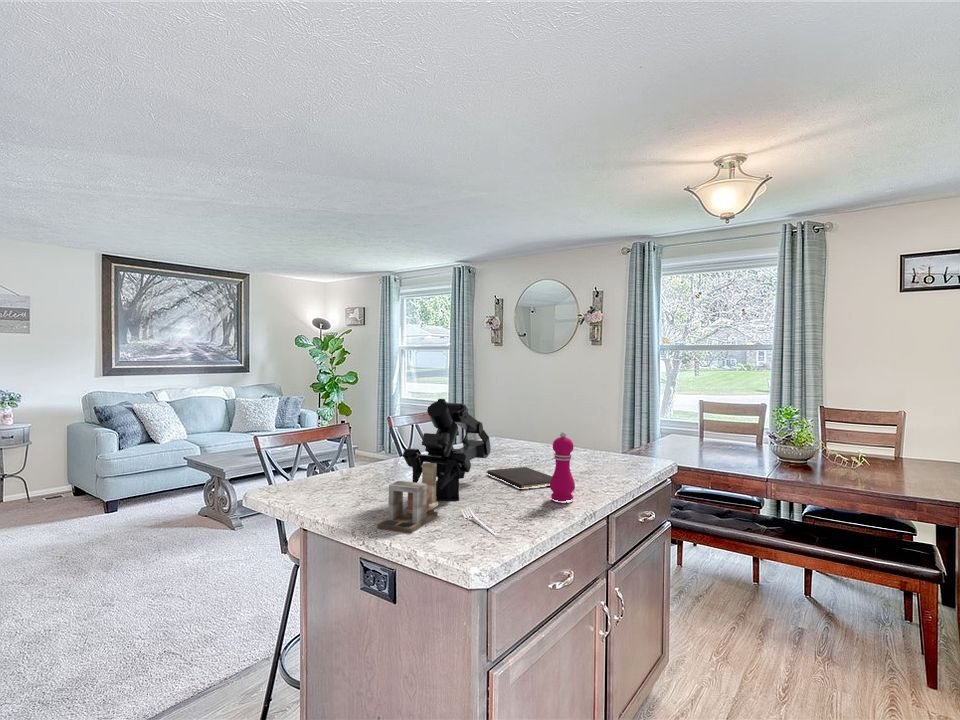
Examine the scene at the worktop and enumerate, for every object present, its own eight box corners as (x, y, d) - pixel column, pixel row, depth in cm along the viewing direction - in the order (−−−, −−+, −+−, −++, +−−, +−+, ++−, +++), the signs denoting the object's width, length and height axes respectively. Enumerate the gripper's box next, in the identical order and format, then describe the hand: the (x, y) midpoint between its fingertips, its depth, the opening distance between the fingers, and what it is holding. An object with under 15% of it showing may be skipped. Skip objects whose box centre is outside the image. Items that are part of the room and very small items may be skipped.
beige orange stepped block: (423, 503, 140) (424, 462, 140) (438, 504, 138) (438, 463, 138) (405, 513, 130) (406, 469, 130) (421, 515, 129) (422, 470, 129)
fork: (492, 542, 116) (492, 534, 116) (458, 515, 134) (459, 508, 134) (505, 540, 117) (505, 532, 117) (470, 513, 136) (470, 506, 136)
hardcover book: (525, 473, 188) (525, 466, 188) (562, 487, 168) (562, 480, 168) (486, 476, 181) (486, 470, 181) (520, 492, 160) (521, 484, 160)
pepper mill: (577, 499, 151) (578, 431, 151) (571, 505, 144) (572, 434, 144) (553, 496, 154) (554, 429, 154) (546, 502, 147) (547, 432, 147)
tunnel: (406, 511, 135) (407, 476, 135) (437, 515, 132) (438, 479, 132) (377, 528, 122) (378, 488, 122) (411, 533, 119) (412, 492, 119)
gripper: (406, 419, 145) (385, 466, 134) (467, 423, 138) (451, 473, 128) (418, 443, 152) (399, 489, 142) (477, 447, 146) (462, 496, 136)
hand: (427, 486), depth 137 cm, fingers open, 8 cm apart
